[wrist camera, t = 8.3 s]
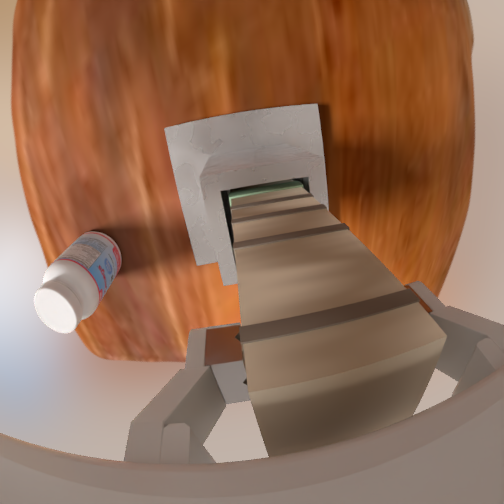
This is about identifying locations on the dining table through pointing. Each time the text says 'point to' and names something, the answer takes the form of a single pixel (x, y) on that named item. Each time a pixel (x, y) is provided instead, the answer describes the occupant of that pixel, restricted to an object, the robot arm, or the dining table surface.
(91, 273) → the pill bottle
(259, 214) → the post
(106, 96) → the dining table surface
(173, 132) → the sleeve
